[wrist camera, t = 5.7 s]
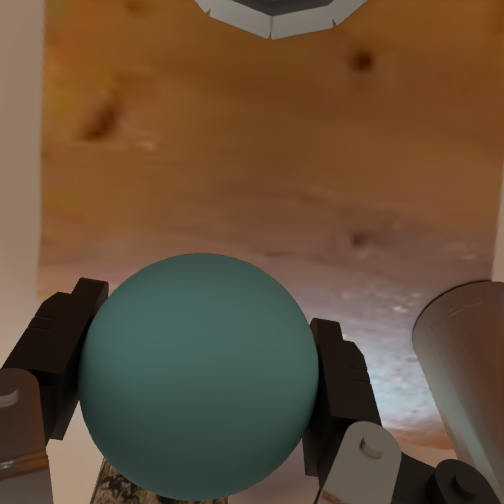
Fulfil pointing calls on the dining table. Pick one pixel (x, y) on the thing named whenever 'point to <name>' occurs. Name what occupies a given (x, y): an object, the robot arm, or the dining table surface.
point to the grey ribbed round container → (280, 15)
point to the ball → (198, 377)
